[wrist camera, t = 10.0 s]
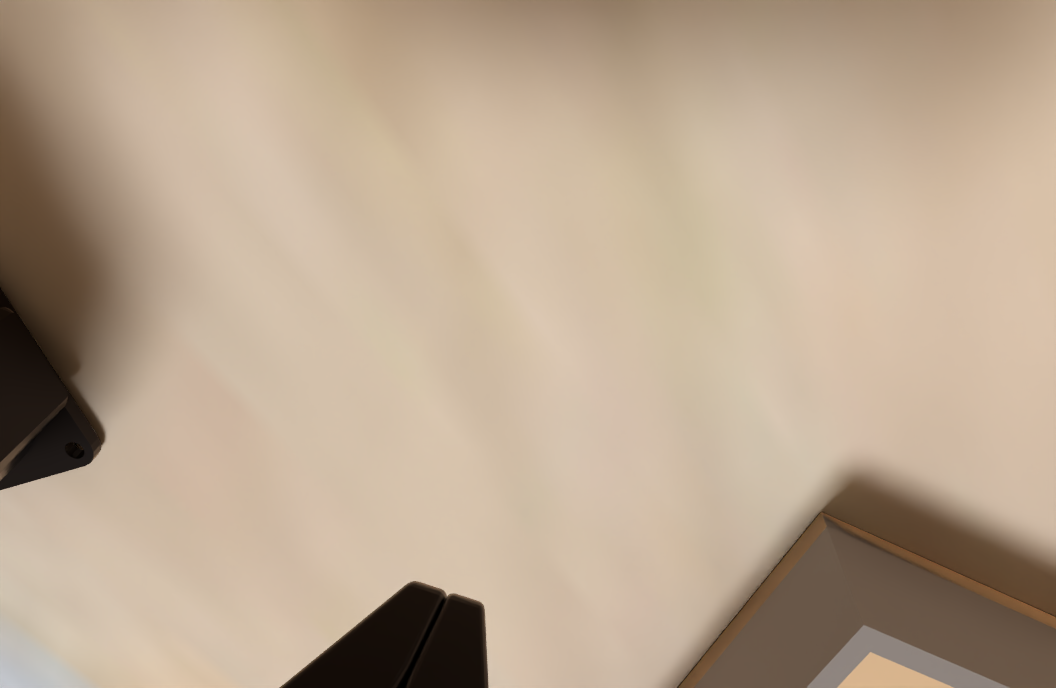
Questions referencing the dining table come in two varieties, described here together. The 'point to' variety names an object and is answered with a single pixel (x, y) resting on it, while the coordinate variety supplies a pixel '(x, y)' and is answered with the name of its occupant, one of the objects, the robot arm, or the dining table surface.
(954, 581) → the box
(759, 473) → the dining table surface
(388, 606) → the robot arm
